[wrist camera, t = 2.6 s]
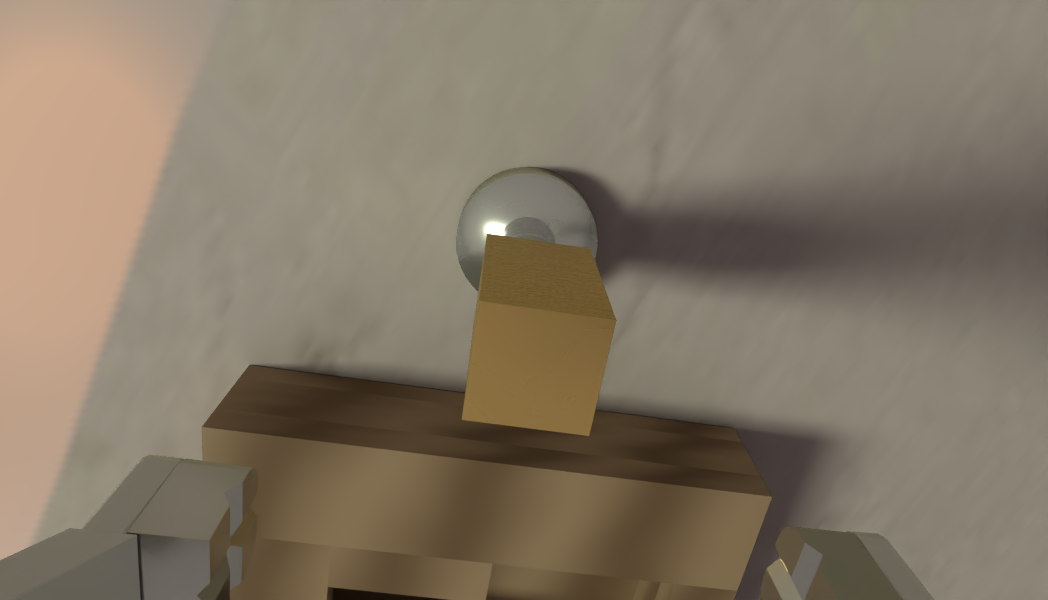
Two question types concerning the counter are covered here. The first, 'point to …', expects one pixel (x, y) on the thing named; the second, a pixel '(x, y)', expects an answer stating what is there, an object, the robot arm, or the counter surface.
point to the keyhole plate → (478, 498)
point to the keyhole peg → (534, 303)
